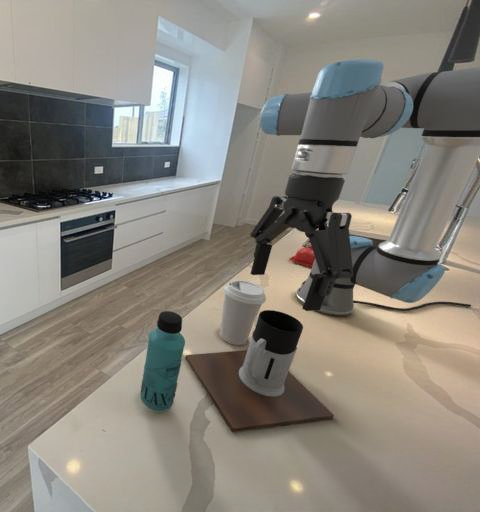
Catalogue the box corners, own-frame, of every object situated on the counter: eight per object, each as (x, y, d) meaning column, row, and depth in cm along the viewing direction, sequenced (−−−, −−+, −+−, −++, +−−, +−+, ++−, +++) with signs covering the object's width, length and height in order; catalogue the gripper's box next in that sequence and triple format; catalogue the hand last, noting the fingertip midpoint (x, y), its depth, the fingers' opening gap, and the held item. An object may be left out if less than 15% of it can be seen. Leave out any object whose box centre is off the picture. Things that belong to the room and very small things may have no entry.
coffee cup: (220, 322, 85) (231, 274, 79) (256, 336, 79) (271, 286, 74) (208, 337, 78) (220, 286, 72) (247, 354, 72) (263, 301, 67)
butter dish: (296, 256, 139) (302, 239, 135) (325, 264, 130) (332, 246, 127) (287, 261, 132) (292, 243, 128) (317, 271, 123) (324, 252, 120)
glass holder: (291, 383, 63) (314, 323, 57) (261, 418, 54) (284, 352, 49) (250, 359, 69) (267, 304, 64) (217, 388, 61) (233, 326, 55)
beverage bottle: (131, 403, 57) (142, 315, 50) (152, 385, 62) (164, 301, 54) (160, 425, 53) (176, 333, 46) (179, 404, 58) (197, 317, 50)
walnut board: (264, 351, 74) (265, 348, 73) (332, 419, 56) (334, 415, 56) (185, 358, 70) (185, 355, 70) (232, 432, 53) (233, 428, 52)
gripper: (247, 165, 59) (225, 263, 67) (377, 187, 36) (321, 331, 44) (280, 166, 60) (255, 262, 68) (426, 187, 37) (362, 327, 45)
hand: (281, 290), depth 56 cm, fingers open, 13 cm apart
